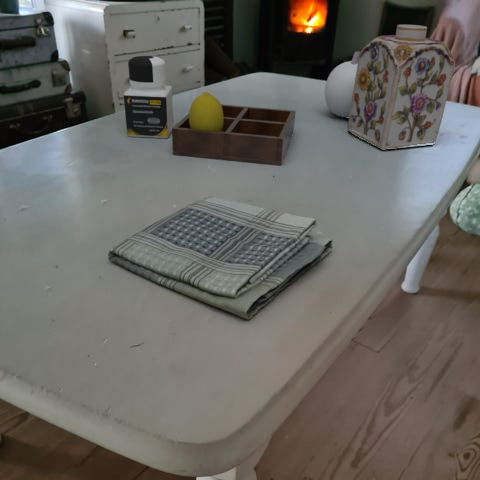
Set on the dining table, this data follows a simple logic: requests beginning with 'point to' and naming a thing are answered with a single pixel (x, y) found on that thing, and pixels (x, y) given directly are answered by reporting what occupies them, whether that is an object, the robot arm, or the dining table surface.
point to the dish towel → (224, 253)
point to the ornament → (341, 87)
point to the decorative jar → (401, 88)
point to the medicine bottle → (148, 99)
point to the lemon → (206, 113)
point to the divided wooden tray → (239, 136)
